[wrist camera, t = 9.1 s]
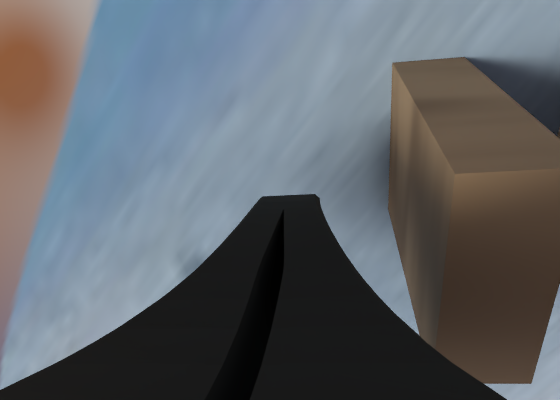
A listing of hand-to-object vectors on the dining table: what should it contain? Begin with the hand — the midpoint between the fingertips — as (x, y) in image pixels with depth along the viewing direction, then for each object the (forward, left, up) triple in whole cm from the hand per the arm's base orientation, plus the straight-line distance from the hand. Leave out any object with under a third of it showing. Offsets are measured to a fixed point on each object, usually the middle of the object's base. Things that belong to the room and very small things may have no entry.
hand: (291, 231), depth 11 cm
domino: (0, -4, -5) cm, 6 cm away
